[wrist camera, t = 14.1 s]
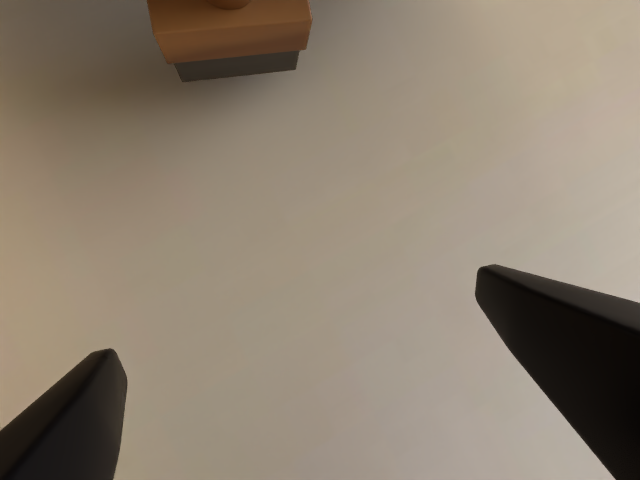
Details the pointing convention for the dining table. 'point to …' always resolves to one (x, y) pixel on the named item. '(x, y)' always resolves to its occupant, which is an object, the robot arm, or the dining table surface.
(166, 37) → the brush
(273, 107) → the dining table surface
